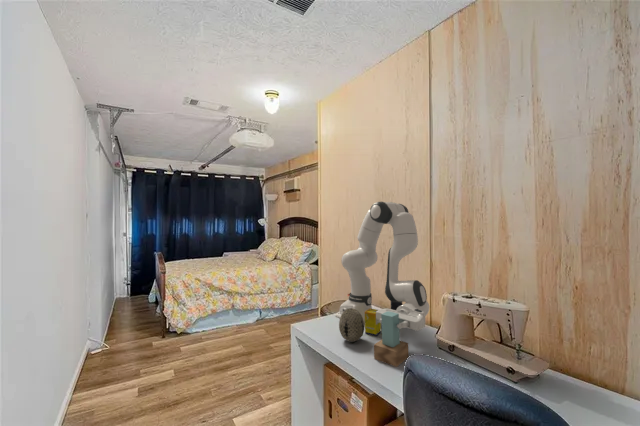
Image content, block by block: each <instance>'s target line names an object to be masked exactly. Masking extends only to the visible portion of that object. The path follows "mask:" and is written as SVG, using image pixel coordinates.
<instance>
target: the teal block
mask: <svg viewBox="0 0 640 426" xmlns="http://www.w3.org/2000/svg"><path fill="white" fill-rule="evenodd" d="M381 319H382V323H381V340H382V344H384V345H387V346H390V347H395V346H396V345H398V344H400V341H401V340H400V337H401V336H400V329H399V328H397V327H396V324H397V323H399V314H398V313H394V312H389V311H387V312H385V313H383V314H381Z"/></svg>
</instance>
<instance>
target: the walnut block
mask: <svg viewBox="0 0 640 426" xmlns="http://www.w3.org/2000/svg"><path fill="white" fill-rule="evenodd" d="M408 358H409V342H406V341H402V340H400V344H398V345H396V346H395V347H390V346H387V345H384V344H382V339H380V340H378V341H377V342H376V343H373V359H374V360H377V361H379V362H382V363H384V364H388V365H390V366H393V367H396V368H397V367H399V366H400V365H401V364H402V363H403V362H405V361H406V360H407V359H408Z"/></svg>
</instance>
